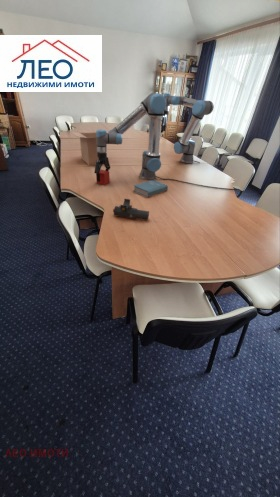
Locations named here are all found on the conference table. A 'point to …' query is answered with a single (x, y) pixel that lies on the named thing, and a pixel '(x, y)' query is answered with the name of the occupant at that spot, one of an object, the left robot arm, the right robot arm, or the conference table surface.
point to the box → (88, 146)
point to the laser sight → (130, 211)
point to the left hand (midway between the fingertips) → (102, 179)
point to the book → (150, 188)
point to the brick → (103, 177)
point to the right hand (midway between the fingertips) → (163, 131)
